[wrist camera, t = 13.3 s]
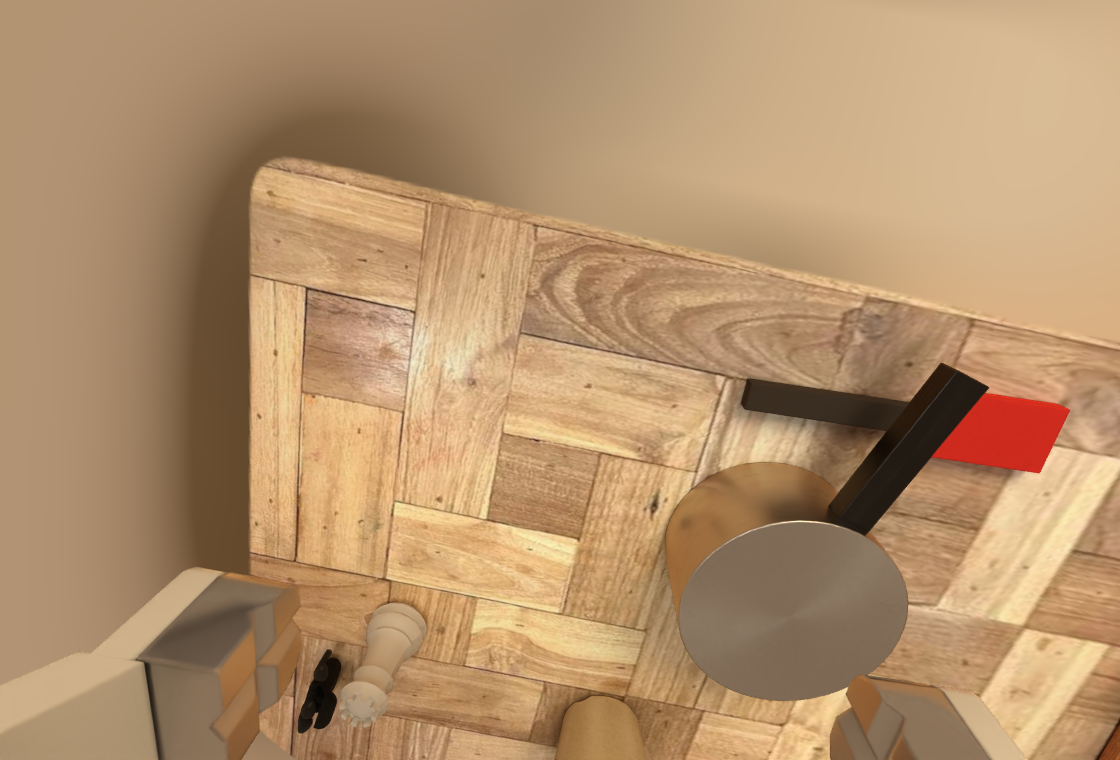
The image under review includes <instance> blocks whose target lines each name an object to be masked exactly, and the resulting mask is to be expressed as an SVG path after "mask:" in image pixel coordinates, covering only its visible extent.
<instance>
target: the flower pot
mask: <svg viewBox="0 0 1120 760" xmlns="http://www.w3.org/2000/svg"><path fill="white" fill-rule="evenodd" d="M555 760H646V756H645V751H644V746H643V742H642V737H641V732H640V727H639V722H638V719H637V718H636V716H635V715H634V713H633V712H632V710H631V709H630V708H629V706H628V705H626V704H625V703H623V702H622V701H620V700H617V699H615V698H611V697H606V696H590V697H589V698H587V699H586V700H584V701H581V702H575V703H573V704H572V705H571V706H570V707H569V709H568V710H567V711H566V713H565V715H564V718H563V724H562V729H561V734H560V739H559V743H558V748H557V752H556V756H555Z"/></svg>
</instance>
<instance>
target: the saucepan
mask: <svg viewBox="0 0 1120 760" xmlns="http://www.w3.org/2000/svg"><path fill="white" fill-rule="evenodd" d="M988 389H989V387H988V386H986V385H984V384H983V383H981V382H979V381H977V380H975V379H973V378H971V377H969V376H968V375H966V374H964V373H962V372H960V371H958V370H956V369H954V368H952V367H950V366H948V365H946V364H944V363H940V364H939V366H938V367H937V368H936V370H935V371H934V372H933V373H932V375H931V376H930V377H929V378H928V380H927V381H926V382H925V384H924V385H923V386H922V387H921V389H920V390H919V391H918V392H917V394H916V395H915V396H914V398H913V399H912V400H911V401H910V403H909V404H908V405H907V406H906V408H905V409H904V410H903V411H902V413H901V414H900V415H899V417H898V418H897V419H896V420H895V422H894V423H893V424H892V425H891V427H890V428H889V429H888V431H887V432H886V433H885V434H884V436H883V437H882V438H881V439H880V441H879V442H878V443H877V444H876V446H875V447H874V448H873V450H872V451H871V452H870V453H869V455H868V456H867V457H866V458H865V460H864V461H863V462H862V464H861V465H860V466H859V467H858V469H857V470H856V471H855V472H854V474H853V475H852V476H851V477H850V479H849V480H848V481H847V483H846V484H845V485H844V486H843V488H842V489H841V490H840V491H839V493H838V492H837V491H836V490H835V489H834V488H833V487H832V486H831V485H830V484H829V483H828V482H826V481H825V480H824V479H822V478H821V477H819V476H817V475H815V474H814V473H812V472H809V471H807V470H805V469H802V468H799V467H796V466H792V465H788V464H781V463H770V462H760V463H749V464H744V465H739V466H735V467H732V468H729V469H726V470H723V471H721V472H719V473H716V474H714V475H712V476H711V477H709V478H707V479H706V480H704V481H702V482H701V483H700V484H698V485H697V486H696V487H695V488H693V489H692V490H691V491H690V492H689V493H688V494H687V495H686V496H685V497H684V498H683V500H682V501H681V502H680V504H679V505H678V506H677V508H676V510H675V511H674V513H673V515H672V517H671V519H670V522H669V524H668V528H667V532H666V536H665V556H666V562H667V567H668V572H669V578H670V583H671V588H672V594H673V599H674V605H675V610H676V615H677V621H678V626H679V631H680V635H681V639H682V641H683V644H684V646H685V648H686V650H687V652H688V653H689V655H690V657H691V658H692V660H693V661H694V662H695V663H696V664H697V666H698V667H699V668H700V669H701V670H702V671H703V672H704V673H705V674H707V675H708V676H709V677H710V678H712V679H713V680H715V681H716V682H717V683H719V684H721V685H723V686H724V687H726V688H728V689H730V690H733V691H735V692H738V693H740V694H743V695H747V696H750V697H754V698H759V699H765V700H775V701H797V700H805V699H812V698H816V697H821V696H825V695H828V694H831V693H834V692H837V691H840V690H842V689H844V688H846V687H849V685H850V683H851V680H853V679H854V678H855V677H856V676H858V675H859V674H862V675H868V674H870V673H871V672H873V671H874V670H875V669H876V668H877V667H878V666H879V665H880V664H881V663H882V662H884V660H885V659H886V658H887V657H888V656H889V654H890V653H891V652H892V651H893V649H894V648H895V646H896V644H897V643H898V641H899V639H900V637H901V635H902V632H903V630H904V627H905V623H906V620H907V613H908V596H907V590H906V586H905V582H904V579H903V577H902V575H901V572H900V570H899V568H898V567H897V565H896V564H895V562H894V561H893V560H892V558H891V557H890V556H889V554H888V553H887V552H886V551H885V549H884V548H883V547H882V546H881V545H880V543H879V542H878V541H877V540H876V538H875V537H874V536H873V535H872V533H871V532H870V530H871V529H872V528H873V526H874V525H875V524H876V523H877V522H878V520H879V519H880V518H881V517H882V516H883V514H884V513H885V512H886V511H887V510H888V508H889V507H890V506H891V505H892V504H893V502H894V501H895V500H896V499H897V498H898V496H899V495H900V494H901V493H902V492H903V490H904V489H905V488H906V487H907V486H908V484H909V483H910V482H911V481H912V480H913V478H914V477H915V476H916V475H917V474H918V473H919V471H920V470H921V469H922V468H923V467H924V465H925V464H926V463H927V462H928V461H929V459H930V458H931V457H932V456H933V455H934V453H935V452H936V451H937V450H938V449H939V447H940V446H941V445H942V444H943V443H944V441H945V440H946V439H947V438H948V437H949V435H950V434H951V433H952V432H953V431H954V429H955V428H956V427H957V426H958V425H959V423H960V422H961V421H962V420H963V419H964V417H965V416H966V415H967V414H968V413H969V411H970V410H971V409H972V408H973V407H974V405H975V404H976V403H977V402H978V401H979V400H980V398H981V397H982V396H983V395H984V394H985V392H986V391H987V390H988Z"/></svg>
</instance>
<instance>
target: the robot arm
mask: <svg viewBox="0 0 1120 760" xmlns="http://www.w3.org/2000/svg"><path fill="white" fill-rule="evenodd" d="M300 607H301V605H300V592H299V588H298V587H297V586H295V585H293V584H289V583H284V582H279V581H273V580H268V579H263V578H257V577H252V576H246V575H241V574H236V573H230V572H228V573H225V572H220V571H215V570H210V569H204V568H199V567H193V568H190V569H188V570H185V571H183V572H182V573H180V574H179V575H178V576H177V577H176V578H175V579H174V580H172V581H171V582H170V583H169V584H168V585H167V586H166V587H165V588H164V589H162V590H161V591H160V592H159V593H158V594H157V595H156V596H154V597H153V599H151V600H150V601H149V602H148V603H147V604H145V605H144V606H143V607H142V608H141V609H140V610H139V611H138V612H137V613H135V614H134V615H133V616H132V617H131V618H130V619H129V620H128V621H126V622H125V623H124V624H123V625H122V626H121V627H120V628H119V629H117V630H116V631H115V632H114V633H113V634H112V635H111V636H110V637H108V638H107V639H106V640H105V641H104V642H103V643H102V644H101V645H100V646H98V647H97V648H96V649H95V650H94V651H93V652H92V653H85V652H77V653H75V654H72V655H70V656H68V657H65V658H63V659H61V660H58V661H56V662H54V663H51V664H49V665H47V666H44V667H42V668H40V669H37V670H35V671H32V672H30V673H28V674H25V675H23V676H21V677H18V678H16V679H14V680H11V681H9V682H7V683H4V684H2V685H0V760H241V759H242V758H243V756H244V755H245V753H246V751H247V750H248V748H249V747H250V745H251V744H252V742H253V740H254V739H255V737H256V736H257V734H258V733H259V713H261V712H262V711H264V710H266V709H267V708H269V707H270V706H272V705H273V704H275V703H277V702H278V701H279V700H280V698H281V696H282V695H283V693H284V691H285V690H286V688H287V687H288V685H289V683H290V681H291V679H292V676H293V674H294V671H295V668H296V666H297V663H298V661H299V655H300V650H301V630H300V628H299V627H298V626H297V625H296V623H295V622H294V621H293V619H292V618H293V616H294V615H295V614H296V612H297V611H298V609H299V608H300ZM846 696H847V698H848V700H849V702H850V704H851V708H849V709H848V710H846V711H845V712H843V713H842V714H840V715H839V716H837V717H836V719H835V722H834V725H833V728H832V730H831V733H830V759H831V760H1028V759H1027V758H1026V757H1025V755H1024V754H1023V753H1022V752H1021V750H1020V749H1019V748H1018V746H1017V745H1016V744H1015V742H1014V741H1013V740H1012V739H1011V737H1010V736H1009V735H1008V733H1007V732H1006V731H1005V729H1004V728H1003V727H1002V726H1001V724H1000V723H999V722H998V720H997V719H996V718H995V716H994V715H993V714H992V713H991V711H990V710H989V709H988V707H987V706H986V705H985V703H984V702H983V701H982V700H981V699H980V698H979V697H978V696H976V695H975V694H974V693H972V692H971V691H969V690H965V689H958V688H951V687H944V686H937V685H926V684H922V683H915V682H908V681H902V680H895V679H888V678H882V677H875V676H868V675H862V674H859V675H858V676H856V677H855V678H854V679H853V680H851V683H850V685H849V687H848V690H847V692H846Z"/></svg>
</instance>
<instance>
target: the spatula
mask: <svg viewBox="0 0 1120 760" xmlns="http://www.w3.org/2000/svg"><path fill="white" fill-rule="evenodd" d="M909 403H910V402H904V401H897V400H890V399H883V398H877V397H870V396H863V395H857V394H850V393H843V392H836V391H830V390H823V389H816V388H810V387H803V386H796V385H789V384H783V383H776V382H769V381H763V380H756V379H747V383H746V387H745V391H744V395H743V398H742V402H741V404H742V406H743V407H744V409H745V410H752V411H758V412H765V413H772V414H778V415H785V416H792V417H798V418H805V419H812V420H818V421H825V422H832V423H838V424H845V425H852V426H858V427H865V428H872V429H878V430H885V431H888V429H889V428H890V427H891V425H892V424H893V423H894V422H895V420H896V419H897V418H898V417H899V415H900V414H901V413H902V411H903V410H904V409H905V408H906V406H907V405H908V404H909ZM1069 412H1070V409H1068V408H1065V407H1063V406H1061V405H1059V404H1054V403H1048V402H1041V401H1034V400H1027V399H1021V398H1014V397H1007V396H1000V395H994V394H987V393H985V394H984V395H983V396H982V397H981V398H980V400H979V401H978V402H977V403H976V404H975V405H974V407H973V408H972V409H971V410H970V411H969V413H968V414H967V415H966V416H965V417H964V419H963V420H962V421H961V422H960V423H959V425H958V426H957V427H956V428H955V429H954V431H953V432H952V433H951V434H950V435H949V437H948V438H947V439H946V440H945V441H944V443H943V444H942V445H941V446H940V447H939V449H938V450H937V451H936V452H935V453H934V455H933V456H932V457H934V458H941V459H947V460H954V461H961V462H967V463H974V464H980V465H987V466H994V467H1000V468H1007V469H1014V470H1020V471H1027V472H1033V473H1040V472H1041V470H1042V468H1043V466H1044V464H1045V461H1046V459H1047V457H1048V455H1049V453H1050V451H1051V449H1052V447H1053V445H1054V443H1055V441H1056V439H1057V437H1058V434H1059V432H1060V430H1061V428H1062V426H1063V424H1064V422H1065V420H1066V418H1067V416H1068V414H1069Z"/></svg>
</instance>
